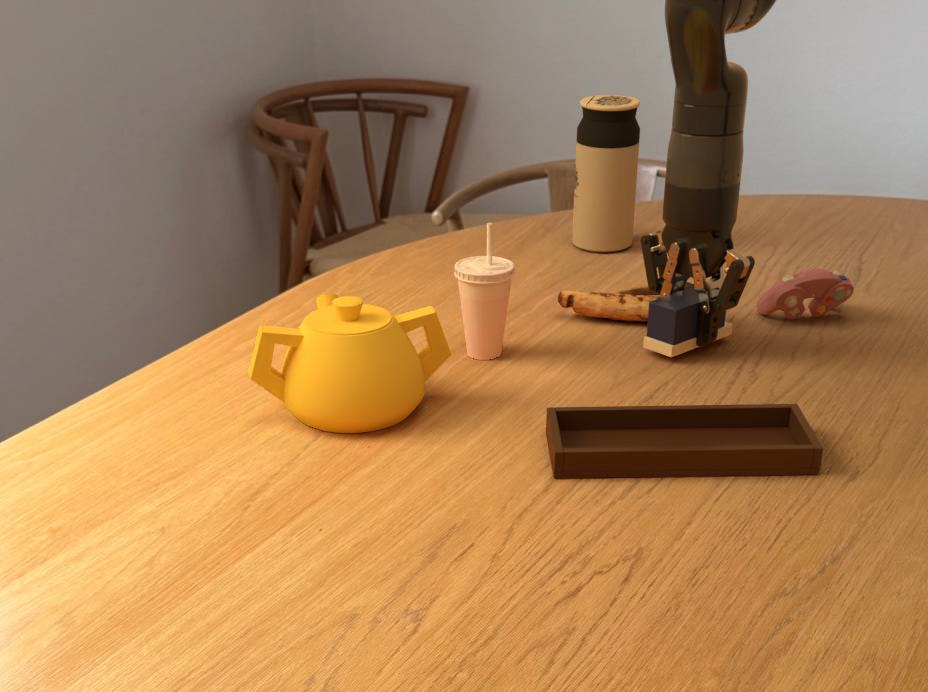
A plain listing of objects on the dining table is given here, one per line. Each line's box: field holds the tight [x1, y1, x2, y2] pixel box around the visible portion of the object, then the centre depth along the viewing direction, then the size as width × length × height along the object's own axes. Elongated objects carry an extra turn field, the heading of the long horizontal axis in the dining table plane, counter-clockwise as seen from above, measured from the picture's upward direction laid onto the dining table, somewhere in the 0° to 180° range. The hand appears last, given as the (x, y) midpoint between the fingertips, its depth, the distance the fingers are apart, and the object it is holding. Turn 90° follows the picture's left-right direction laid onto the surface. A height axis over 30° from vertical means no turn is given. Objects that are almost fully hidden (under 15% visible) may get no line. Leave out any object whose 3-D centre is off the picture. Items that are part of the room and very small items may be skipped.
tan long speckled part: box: [557, 281, 694, 323], centre depth 144 cm, size 9×5×18 cm
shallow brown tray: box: [545, 403, 824, 479], centre depth 115 cm, size 24×10×3 cm, turn 91°
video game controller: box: [756, 268, 855, 321], centre depth 143 cm, size 10×5×7 cm, turn 104°
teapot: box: [247, 293, 453, 434], centre depth 123 cm, size 20×18×11 cm
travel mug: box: [571, 94, 641, 254], centre depth 162 cm, size 8×8×18 cm
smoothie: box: [453, 222, 516, 361], centre depth 132 cm, size 6×6×14 cm
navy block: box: [642, 287, 734, 358], centre depth 135 cm, size 10×4×5 cm, turn 130°
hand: (687, 338), depth 136 cm, fingers closed on navy block, 4 cm apart
